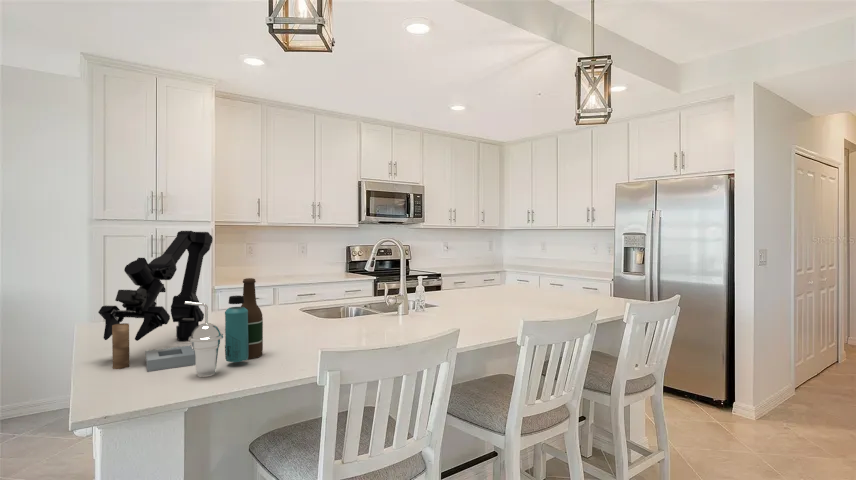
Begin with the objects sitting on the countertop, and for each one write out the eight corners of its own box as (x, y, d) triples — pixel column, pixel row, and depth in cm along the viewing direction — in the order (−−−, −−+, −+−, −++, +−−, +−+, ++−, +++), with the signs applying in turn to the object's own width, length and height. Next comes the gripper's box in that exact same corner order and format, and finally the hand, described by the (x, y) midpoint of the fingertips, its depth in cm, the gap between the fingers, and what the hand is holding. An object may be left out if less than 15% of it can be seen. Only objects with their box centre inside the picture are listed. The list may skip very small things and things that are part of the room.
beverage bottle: (253, 362, 136) (253, 294, 135) (237, 368, 130) (237, 297, 129) (236, 360, 138) (235, 293, 138) (219, 366, 132) (218, 296, 131)
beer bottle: (268, 354, 144) (268, 278, 144) (249, 360, 137) (248, 280, 137) (249, 351, 148) (249, 276, 147) (230, 357, 141) (229, 279, 140)
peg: (129, 364, 134) (129, 322, 133) (129, 367, 130) (129, 325, 130) (112, 366, 131) (112, 324, 131) (112, 369, 128) (111, 326, 128)
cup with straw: (210, 380, 120) (210, 303, 119) (179, 378, 121) (178, 302, 121) (230, 370, 128) (229, 298, 128) (200, 368, 130) (200, 297, 129)
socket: (190, 354, 143) (190, 345, 143) (195, 364, 133) (195, 354, 133) (145, 360, 137) (145, 350, 137) (147, 371, 127) (147, 360, 127)
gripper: (102, 278, 136) (72, 323, 125) (163, 279, 135) (138, 324, 124) (122, 300, 144) (95, 344, 133) (180, 301, 143) (157, 346, 132)
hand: (120, 339), depth 131 cm, fingers open, 9 cm apart
